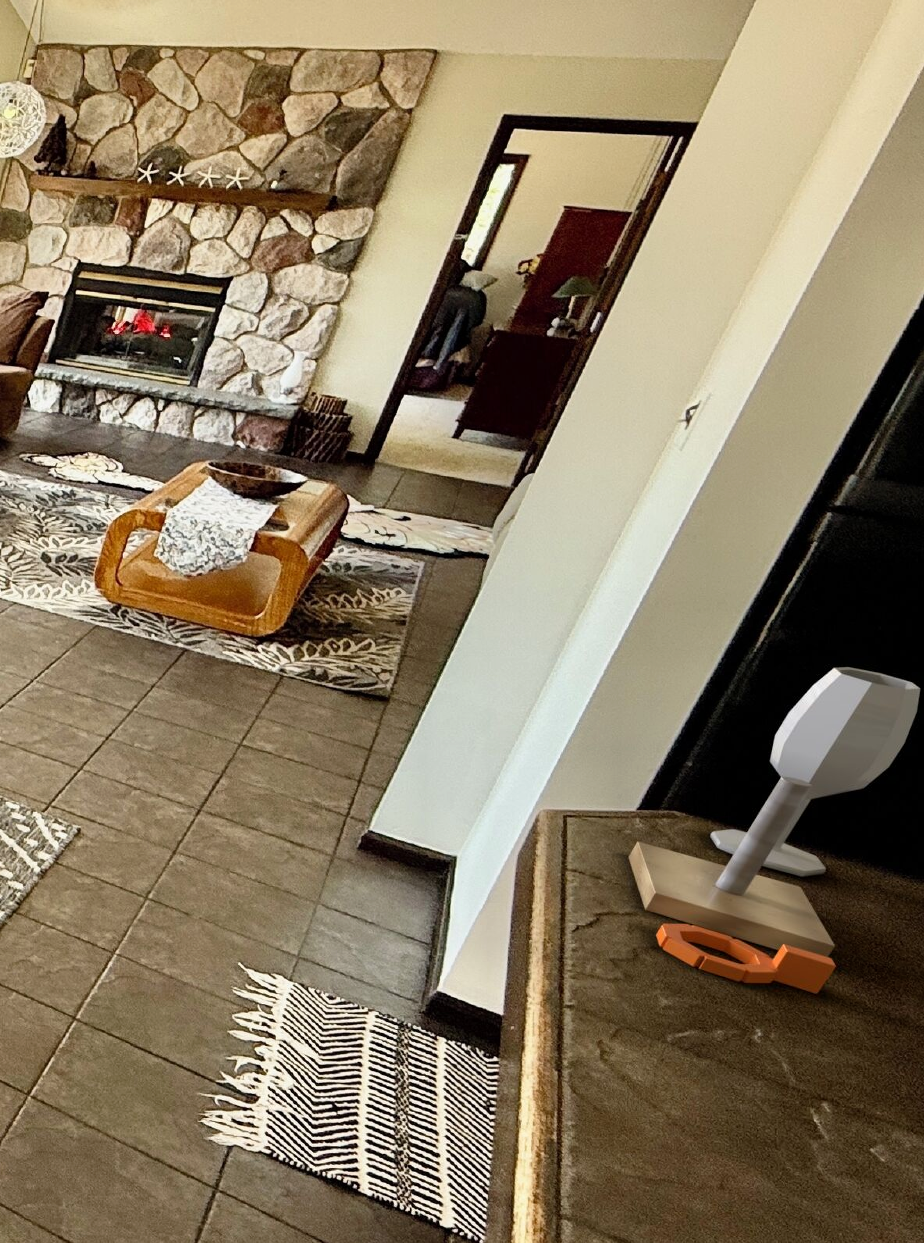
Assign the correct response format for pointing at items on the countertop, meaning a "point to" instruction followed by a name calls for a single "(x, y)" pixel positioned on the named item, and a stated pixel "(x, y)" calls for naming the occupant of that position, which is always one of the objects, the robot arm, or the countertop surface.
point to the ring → (746, 958)
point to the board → (724, 909)
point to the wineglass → (835, 747)
